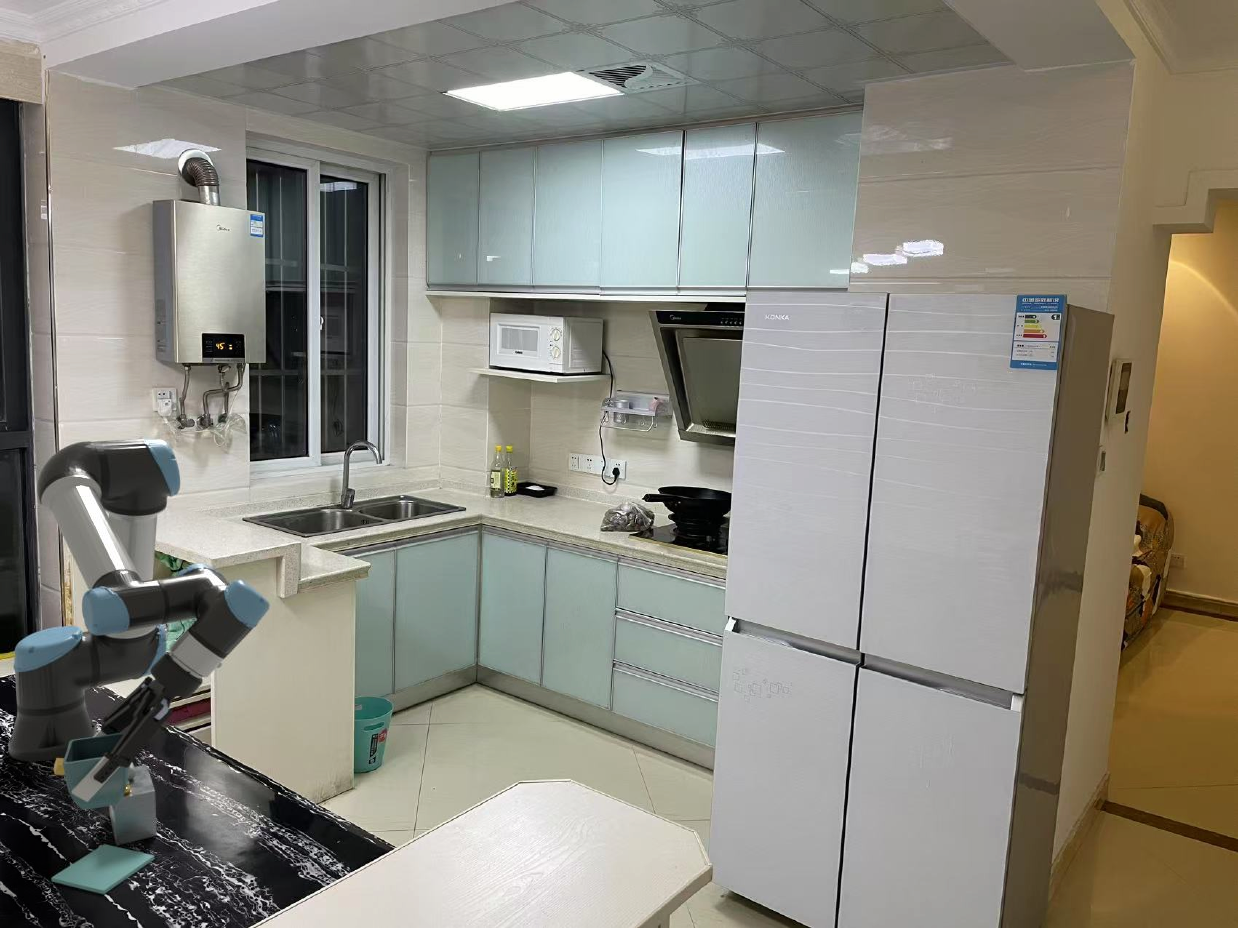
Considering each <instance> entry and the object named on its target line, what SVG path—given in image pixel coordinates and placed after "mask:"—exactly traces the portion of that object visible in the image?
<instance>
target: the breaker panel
mask: <svg viewBox="0 0 1238 928" xmlns="http://www.w3.org/2000/svg"><path fill="white" fill-rule="evenodd" d="M134 769H135V773H136V775H135V777H134V778H133V779H128V782H127V787H126V790H125V793H124V796H123V798H122V800H121V801H120V803H119V804H117V805H111V806H108V807H109V808H108V809H109V817H110V821H111V822H110V823H111V827H112V831H113V836H114V840H115V844H116V845H115V846H119V845H123V844H127V843H132V842H136V841H140V840H144V839H148V838H152V837H156V836H157V835H158V834H157V810H156V809H157V808H156V806H157V805H156V790H155V787H154V783H153V780H152V777H151V775H150V772H149V768H148V765H147V764H143V765H138V766H134Z"/></svg>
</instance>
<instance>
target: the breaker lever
mask: <svg viewBox="0 0 1238 928" xmlns="http://www.w3.org/2000/svg"><path fill="white" fill-rule="evenodd" d="M64 758H65V757H63V758H56V759H55V762H54V766H53V772H54V775H57V776H65V773H64V768H63V760H64ZM134 767H135V765H134V763H133V762H132V763H131V766H130V771H129V777H128V779H133V778H134V777H135V775H136V773H135V769H134Z"/></svg>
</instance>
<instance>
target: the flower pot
mask: <svg viewBox="0 0 1238 928" xmlns="http://www.w3.org/2000/svg"><path fill="white" fill-rule="evenodd" d="M124 733H125V731H124V732H120V733H117V734H110V735H103V736H96V737H89V738H81V739H75V740H71V741H70V742H69V745H68V749H67V752H66V755H65V757H63V758H64V760H63V768H64V773H65V775H64V778H65V782H66V787H67V791H68V794H69V796H70V797H71V799H72V800H73V802H74V803H75V805H77V806H78V807H79V808H80V809H81V810H82V811H85V810H93V809H99V808H103V807H109V806H111V805H117V804H119V803H120V801H121V800H122V798H123V796H124V793H125V790H126V787H127V782H128V777H129V771H130V766H131V764H130V766H129V767H128V768H125V767H123V766H122V767H121V766H120V767H119V769H118V770H117V771H116V772H115V773H114V774H113V775H112V776H111V777H110V778H109V779H108V780H107V781H106V783H105V784H104V785H103V786H102V787H101V788H100V789H99V790H98V791H97V792H96V793H95V794H94V796H93V797H92V798H91V799H90V800H89V801H88V802H86V801H85V800H83V799H81V798H79V797H78V796H76V795H74V794H72V790H73V789H74V788H75V787H76V786H77V785H78V784H79V783H80V782H81V781H82V779H83V778H84V777H85V776H86V775H87V774H88V773H89V772H90V771H91V770H92V769H93V768H94V767H95V766H96V764H97V763H98V762H99V761H100V760H101V759H102V758H103V757H104V756H103V755H104V753H108V752H109V753H111V751H112V750H113V749H114V747H115V746H116V744H117V743H118V741H119V740H120V738H121V737H122V736H123V734H124ZM123 756H124V755H123Z"/></svg>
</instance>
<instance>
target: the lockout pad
mask: <svg viewBox="0 0 1238 928" xmlns="http://www.w3.org/2000/svg"><path fill="white" fill-rule="evenodd" d="M154 860H155V855H153V854H148V853H143V852H141V851H136V850H130V849H127V848H122V847H118V846H113V845H109V844H106V843H104V844H102V845H100V846H99V847H97V848H96V849H94V850H93V851H91V852H90V853H87V855H85V856H83V857H82V858H79V860H77V861H76V862H74V863H72V864H70V865H69V866H67V867H66V868H64V869H63V870H61V871H60V872H58V873H56V874H55V875H54V876H53V875H52V877H51V878H50V879H51V882H52V883H53V882H54V883H57V884H62V885H65V886H68V887H72V888H73V887H74V888H78V889H81V890H85V891H89V892H92V893H93V892H94V893H97V894H101V895H105V894H106V893H108V892H109V891H111V890H113V888H115V887H117V886H119V885H120V884H121V883H122V882H125V880H127V879H128V878H130V877H131V876H133V875H134V874H135V873H137V872H139V870H141V869H142V868H144V867H146V866H147V865H149V863H151V862H152V861H154Z"/></svg>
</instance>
